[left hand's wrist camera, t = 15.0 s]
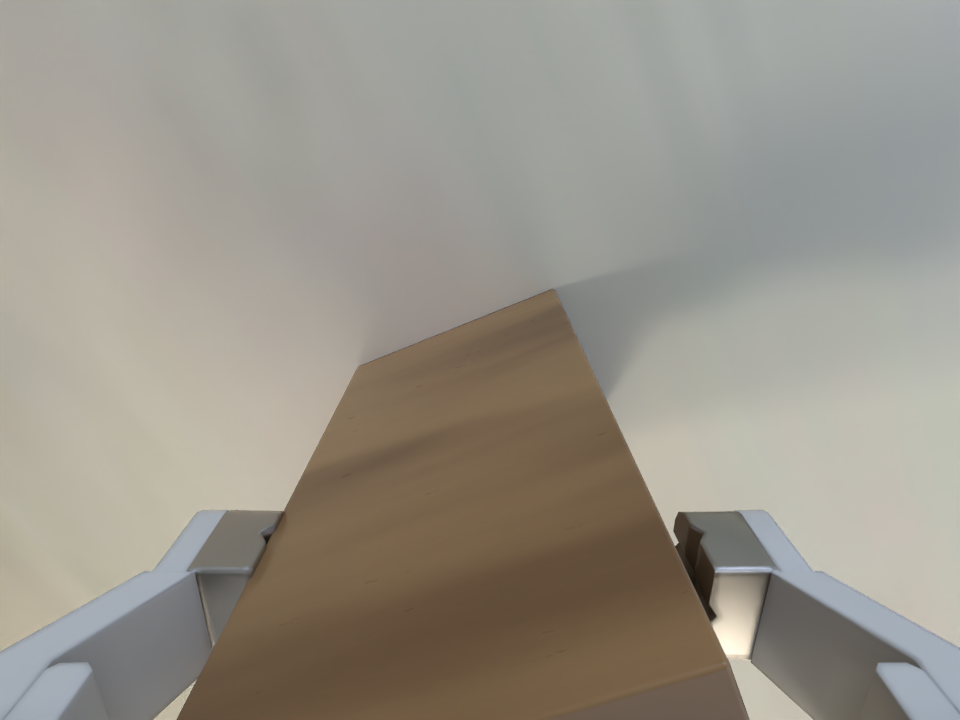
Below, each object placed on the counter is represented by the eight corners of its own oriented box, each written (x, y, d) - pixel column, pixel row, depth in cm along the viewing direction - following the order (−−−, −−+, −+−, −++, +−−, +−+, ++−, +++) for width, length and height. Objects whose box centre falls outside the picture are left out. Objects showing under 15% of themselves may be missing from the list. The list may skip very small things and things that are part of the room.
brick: (601, 413, 17) (824, 932, 6) (417, 480, 18) (318, 1043, 7) (554, 288, 16) (730, 664, 5) (357, 366, 16) (109, 844, 5)
